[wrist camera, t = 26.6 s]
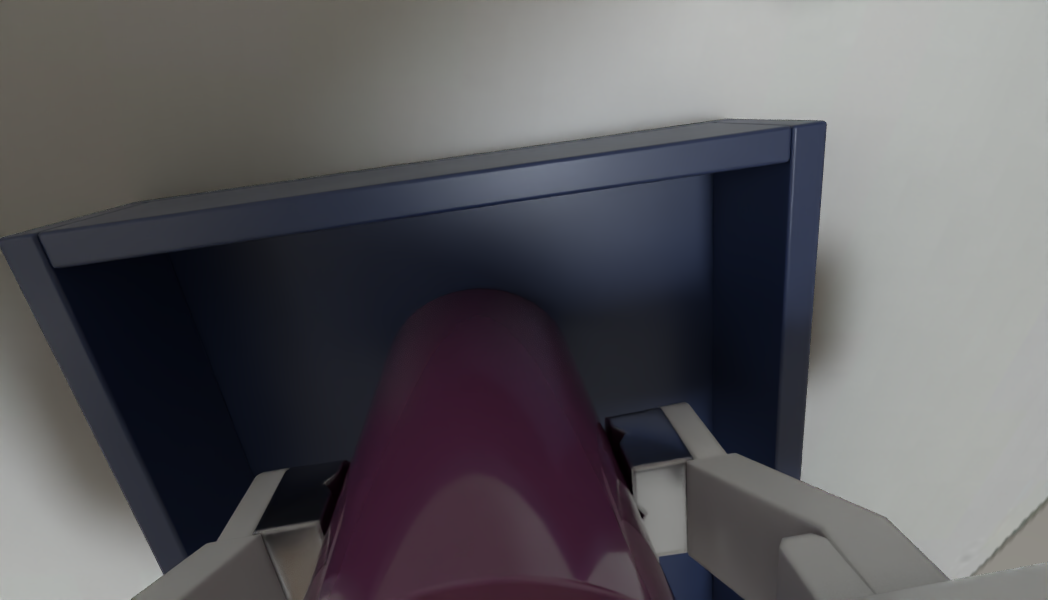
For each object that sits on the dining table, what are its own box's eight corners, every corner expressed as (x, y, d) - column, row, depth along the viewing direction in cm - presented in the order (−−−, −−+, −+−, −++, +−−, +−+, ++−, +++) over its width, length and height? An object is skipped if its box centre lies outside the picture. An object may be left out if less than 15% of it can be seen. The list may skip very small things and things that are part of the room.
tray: (351, 755, 18) (325, 900, 14) (133, 201, 11) (-8, 239, 8) (722, 683, 18) (776, 806, 15) (728, 118, 12) (828, 120, 8)
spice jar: (407, 467, 13) (301, 1062, 5) (365, 303, 12) (106, 776, 3) (580, 437, 14) (757, 962, 5) (562, 273, 12) (777, 649, 4)
